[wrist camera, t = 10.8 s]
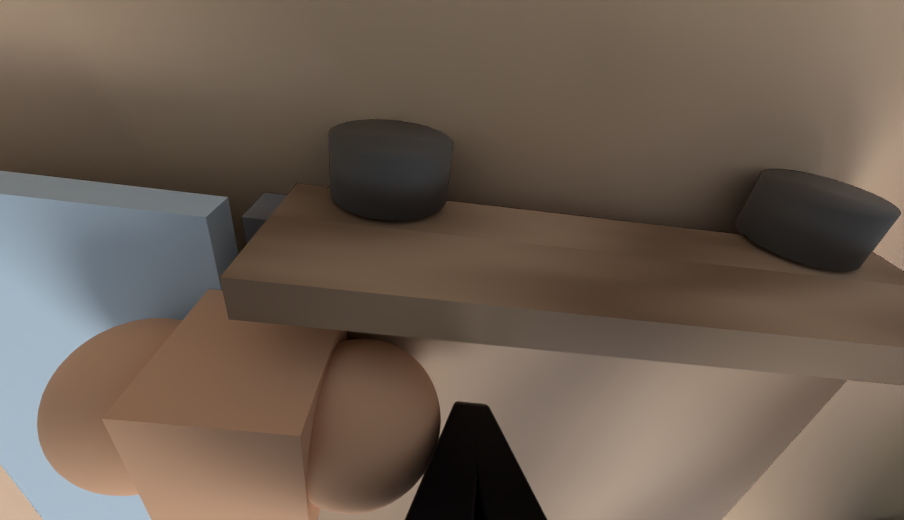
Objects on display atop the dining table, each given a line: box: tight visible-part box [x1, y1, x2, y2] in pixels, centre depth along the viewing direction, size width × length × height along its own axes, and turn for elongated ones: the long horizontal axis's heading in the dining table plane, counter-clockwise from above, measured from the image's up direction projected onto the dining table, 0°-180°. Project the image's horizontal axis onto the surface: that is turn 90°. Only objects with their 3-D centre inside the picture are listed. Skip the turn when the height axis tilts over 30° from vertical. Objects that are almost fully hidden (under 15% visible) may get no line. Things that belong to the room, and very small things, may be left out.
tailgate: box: [0, 171, 238, 520], centre depth 12 cm, size 1×14×8 cm
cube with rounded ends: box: [37, 289, 441, 520], centre depth 8 cm, size 7×3×3 cm, turn 83°
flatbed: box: [220, 120, 904, 520], centre depth 12 cm, size 14×17×4 cm
